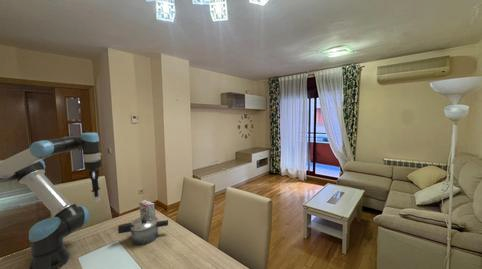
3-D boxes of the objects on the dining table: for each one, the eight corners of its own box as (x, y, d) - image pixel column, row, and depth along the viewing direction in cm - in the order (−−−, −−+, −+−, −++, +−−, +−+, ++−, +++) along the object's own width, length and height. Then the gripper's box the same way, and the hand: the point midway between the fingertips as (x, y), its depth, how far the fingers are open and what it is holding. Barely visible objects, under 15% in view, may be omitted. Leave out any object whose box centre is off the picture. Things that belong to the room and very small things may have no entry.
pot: (116, 250, 111) (114, 236, 110) (124, 234, 126) (122, 221, 125) (167, 240, 119) (166, 227, 118) (169, 227, 133) (168, 214, 132)
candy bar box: (140, 224, 138) (138, 202, 136) (147, 220, 142) (145, 199, 140) (149, 228, 132) (148, 206, 130) (156, 225, 136) (154, 203, 134)
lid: (116, 237, 109) (115, 231, 108) (120, 222, 123) (120, 217, 123) (157, 227, 117) (157, 222, 117) (157, 215, 131) (157, 210, 131)
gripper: (101, 161, 103) (105, 203, 106) (101, 157, 114) (105, 195, 117) (83, 164, 99) (88, 207, 102) (84, 159, 109) (89, 199, 112)
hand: (97, 201), depth 109 cm, fingers closed
